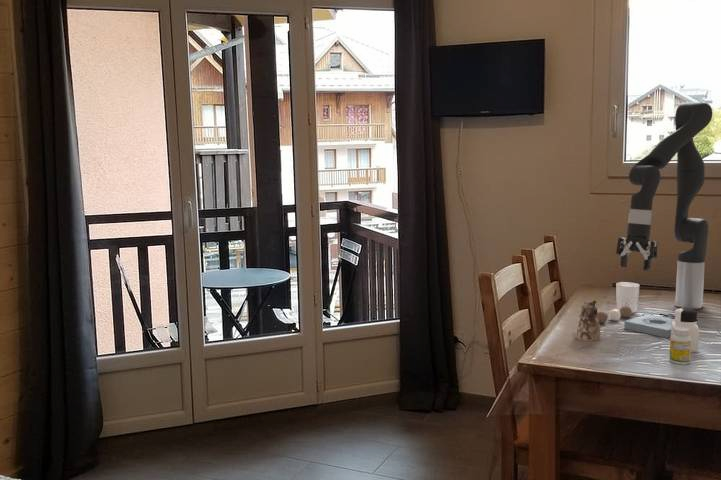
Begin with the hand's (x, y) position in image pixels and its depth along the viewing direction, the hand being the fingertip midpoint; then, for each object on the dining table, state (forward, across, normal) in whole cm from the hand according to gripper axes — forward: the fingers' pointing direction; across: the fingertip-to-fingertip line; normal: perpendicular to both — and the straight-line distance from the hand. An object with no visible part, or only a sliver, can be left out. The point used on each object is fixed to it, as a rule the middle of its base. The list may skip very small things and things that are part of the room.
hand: (634, 268), depth 253 cm
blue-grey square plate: (+18, -14, +6) cm, 24 cm away
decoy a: (+15, +1, 0) cm, 16 cm away
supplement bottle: (+22, -38, +34) cm, 55 cm away
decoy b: (+17, +2, +14) cm, 22 cm away
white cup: (+17, +7, -9) cm, 20 cm away
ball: (+16, +1, +7) cm, 18 cm away
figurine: (+21, -7, +33) cm, 40 cm away
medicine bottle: (+20, -31, +20) cm, 42 cm away
